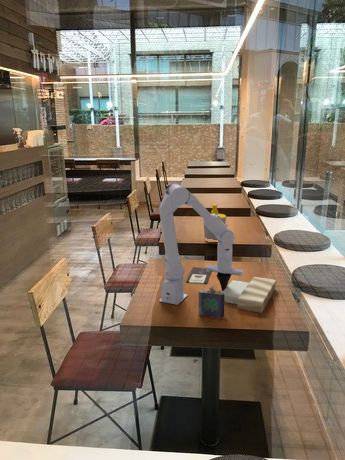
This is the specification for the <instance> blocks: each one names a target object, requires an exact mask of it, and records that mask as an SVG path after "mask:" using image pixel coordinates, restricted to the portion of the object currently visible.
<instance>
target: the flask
mask: <svg viewBox="0 0 345 460" xmlns="http://www.w3.org/2000/svg"><path fill="white" fill-rule="evenodd" d="M197 294H198V315H199V316H201V315H202V317H208V316H211V317H213V318H217V317H218V318H219V319H224V318H225V302H224V293H223V291H220V290H216V289H214V286H210V287H208V289H206V290H205V289H200V290H198V293H197ZM211 317H210V318H211ZM223 317H224V318H223Z"/></svg>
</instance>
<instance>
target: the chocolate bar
mask: <svg viewBox="0 0 345 460" xmlns="http://www.w3.org/2000/svg"><path fill="white" fill-rule="evenodd" d="M210 273H212V272H211V271H209V272H207V271H206V267H194V266H193V267H191V270H190V272H189V274H188V276H187V279H186V280H185V283H187V284H189V283H190V284H198V285H199V284H202V285H207V284H208V282H209V279H210V276H211V274H210Z"/></svg>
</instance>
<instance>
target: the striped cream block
mask: <svg viewBox="0 0 345 460" xmlns="http://www.w3.org/2000/svg"><path fill="white" fill-rule="evenodd" d="M248 283H249V284H248V285H247V286H246V288H245V289H244V290H243V292H242V293H241V294H240V296H239V297H238V302H237V304H236V305H237V306H236V307H237V309H238V310H245V311H248V312H249V311H250V312H255V313H260V314H262V313H263V311H264V310H265V308H266V307H267V305H268V303H269V301H270V300H271V298H272V296H273V294H274V292H275V291H276V288H277V287H276V285H277V280H276V279H271V278H265V277H258V276H253V277H252V278H251V279H250V281H249V282H248Z"/></svg>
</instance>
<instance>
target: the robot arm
mask: <svg viewBox="0 0 345 460" xmlns="http://www.w3.org/2000/svg"><path fill="white" fill-rule="evenodd" d="M182 205H186V206H189V207H191V208H192V209H193V210H194V211H195V212H196V213H197V214H198V215H199V216H200V217H202V219H203V226H204V225H205V226H206V227H207V228H208V229H209V230H210V231H211V232H212V233H213V234H214V235H215V237H216V238H217V239H218V243H217V248H216V249H217V254H216V255H217V259H216V260H217V261H216V265H207V266H206V267H205V268H206V271H207V272H209V271H211V273H217V274H216V278H217V280H218V282H219V284H220V285H219V286H220V287H221V292H223V291H224V290H225V289H226V287H227V286H228V285H229V283H230V282H229V281H230V279H231V277H232V275H234V276H239V277H243V276H244V270H242V269H238V268H235V267H233V243H234V241H236V236H235V235H234V234H235V233H234V232H233V231H232V230H230V229H229V226H228V224H224V223H223V222H222V221H221V220H220V216H219V215H216V214H211V212H209V211H208V210H207V208H206V207H205V206H204V205H203V204H202V202H201V201H200V200H199V199H198V198H197V196H195V195H194V194H193V193H192V192H190V191H189V190H188V189H187V188H186V187H184V186H182V185H181V184H178V183H173V184H171V185H169V186H168V187H167V188H166V189H165V191H164V195H163V197H162V200H161V202H160V204H159V207H158V210H159V211H158V212H159V217H160V219H159V220H160V226H161V231H162V238H163V245H164V251H165V254H164V262H163V267H164V270H166V272H165V274H164V281H163V282H162V284H161V285H160V299H159V300H158V301H159V302H161V303H166V304H170V305H171V304H172V305H175V306H176V305H177V306H178V305H179V304H180V303H181V302H182V301H183V300H185V299H186V298H187V297H188V294H187V293H185V291H184V289H185V288H184V282H185V281H184V275H185V268H184V267H185V266H183V265H182V262H181V258H180V254H179V249H178V240H177V234H176V233H177V232H176V226H175V217H174V213H175V212H176V210H177V209H178V208H179V207H181V206H182Z"/></svg>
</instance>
